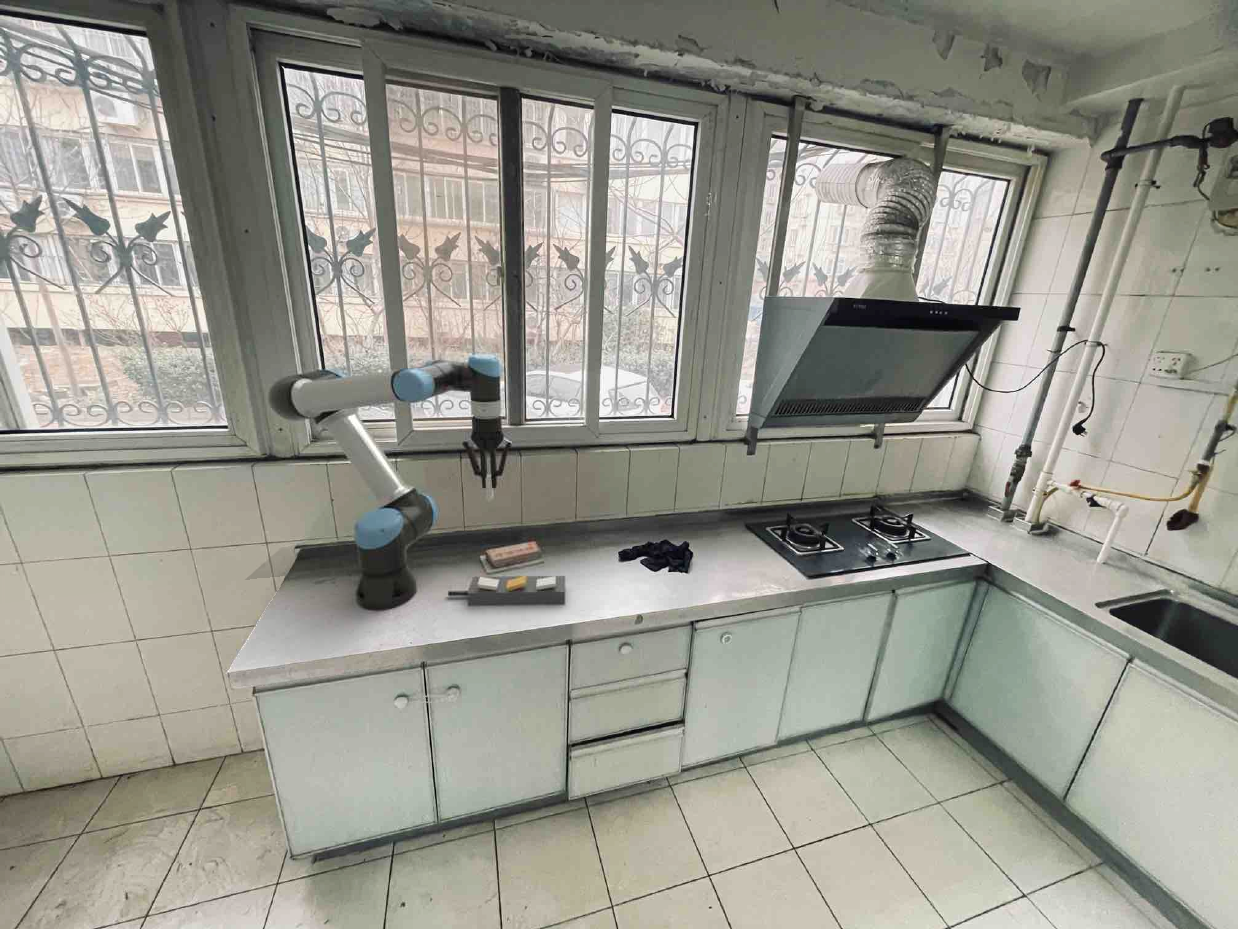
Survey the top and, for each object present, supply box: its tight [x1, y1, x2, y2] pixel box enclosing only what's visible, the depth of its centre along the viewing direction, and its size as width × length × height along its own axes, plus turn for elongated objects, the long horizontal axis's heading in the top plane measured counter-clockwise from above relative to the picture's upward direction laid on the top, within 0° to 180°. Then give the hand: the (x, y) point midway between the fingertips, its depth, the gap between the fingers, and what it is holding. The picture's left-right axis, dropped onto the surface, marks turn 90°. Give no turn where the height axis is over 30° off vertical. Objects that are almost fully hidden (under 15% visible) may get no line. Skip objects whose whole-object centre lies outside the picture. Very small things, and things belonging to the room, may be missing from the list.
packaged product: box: [479, 540, 545, 575], centre depth 155 cm, size 18×5×10 cm
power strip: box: [447, 575, 566, 607], centre depth 136 cm, size 32×8×4 cm, turn 95°
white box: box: [477, 576, 499, 590], centre depth 134 cm, size 5×4×1 cm
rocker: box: [536, 575, 557, 590], centre depth 135 cm, size 5×4×1 cm
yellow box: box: [506, 575, 527, 591], centre depth 134 cm, size 5×4×1 cm
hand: (490, 498), depth 135 cm, fingers closed
